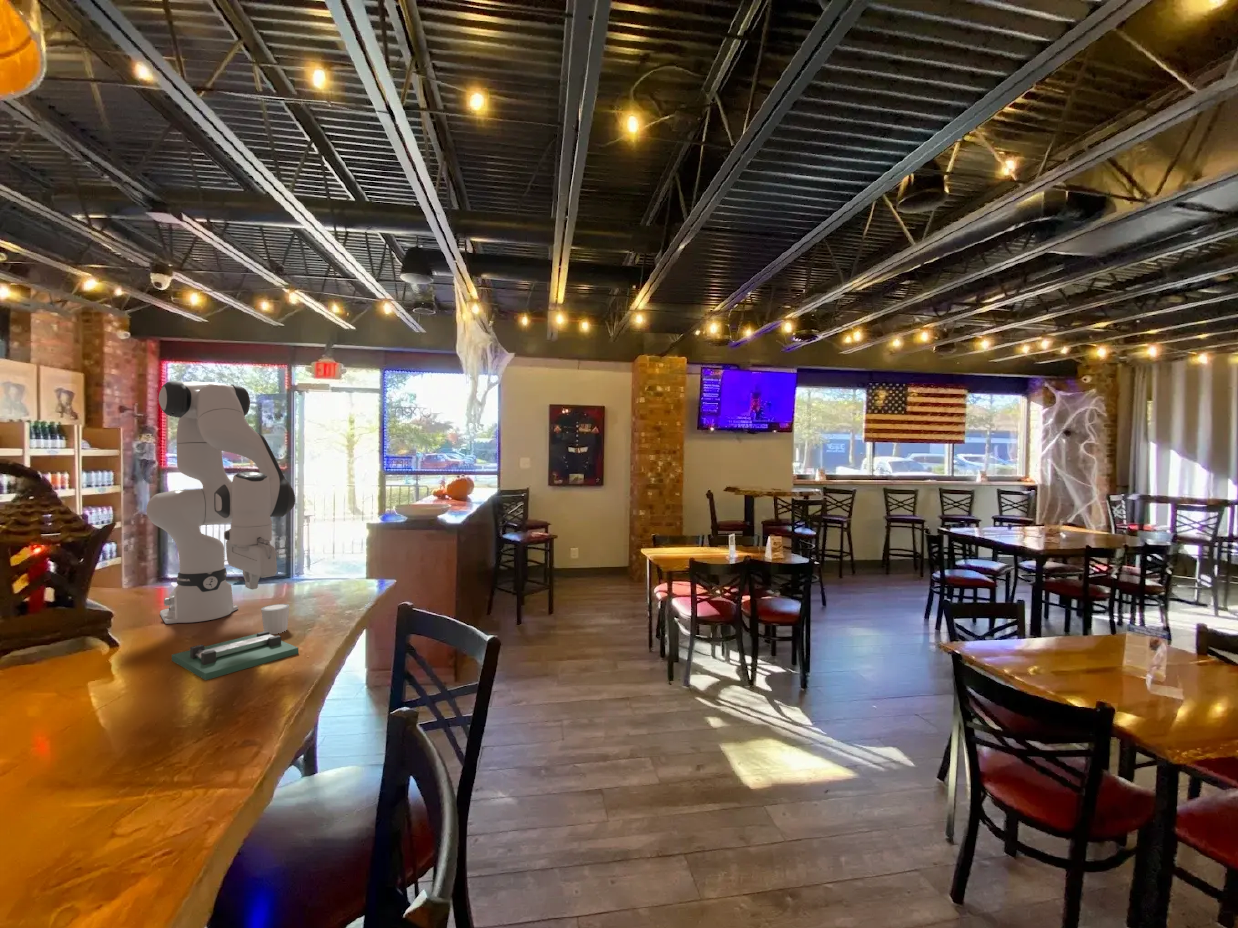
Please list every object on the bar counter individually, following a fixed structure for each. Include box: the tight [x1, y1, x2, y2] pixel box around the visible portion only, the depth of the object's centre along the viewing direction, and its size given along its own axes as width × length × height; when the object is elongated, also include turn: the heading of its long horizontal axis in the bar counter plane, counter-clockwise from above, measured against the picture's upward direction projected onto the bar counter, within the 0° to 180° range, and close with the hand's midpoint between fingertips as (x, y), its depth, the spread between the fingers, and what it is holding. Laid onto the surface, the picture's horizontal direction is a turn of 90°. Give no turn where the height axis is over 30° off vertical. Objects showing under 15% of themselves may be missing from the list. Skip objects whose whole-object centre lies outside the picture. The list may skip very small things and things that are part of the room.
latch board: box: [171, 630, 299, 681], centre depth 139 cm, size 20×20×4 cm
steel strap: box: [195, 634, 275, 659], centre depth 140 cm, size 4×16×2 cm, turn 146°
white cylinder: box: [260, 603, 290, 635], centre depth 159 cm, size 7×7×7 cm
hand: (251, 588), depth 146 cm, fingers closed
